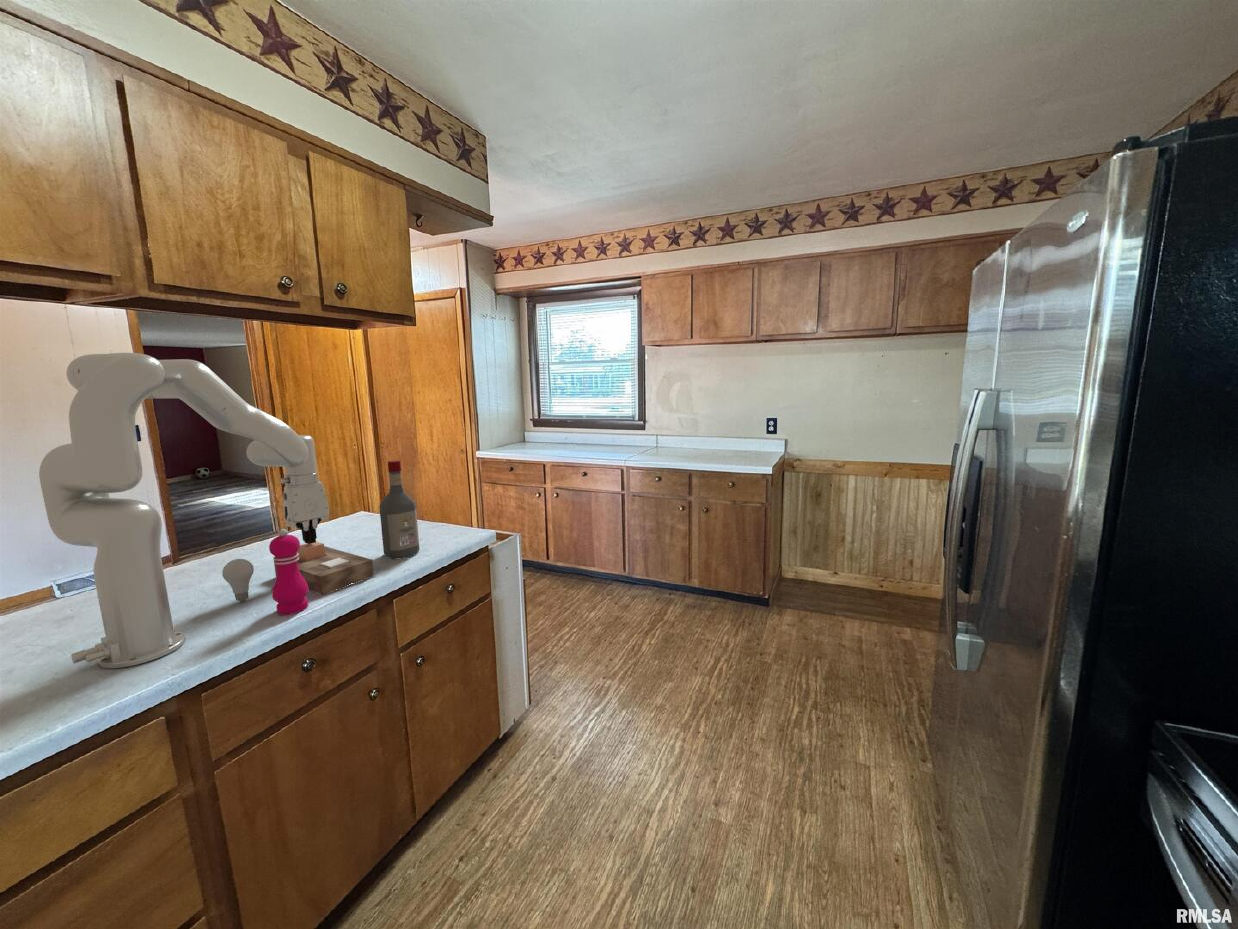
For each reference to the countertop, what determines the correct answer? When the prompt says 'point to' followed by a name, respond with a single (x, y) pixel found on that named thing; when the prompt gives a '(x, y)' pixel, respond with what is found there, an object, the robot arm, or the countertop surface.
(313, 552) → the orange cube
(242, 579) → the lightbulb
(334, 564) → the white cube
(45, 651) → the countertop surface
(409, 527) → the liquor
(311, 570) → the block
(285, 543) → the pepper mill
